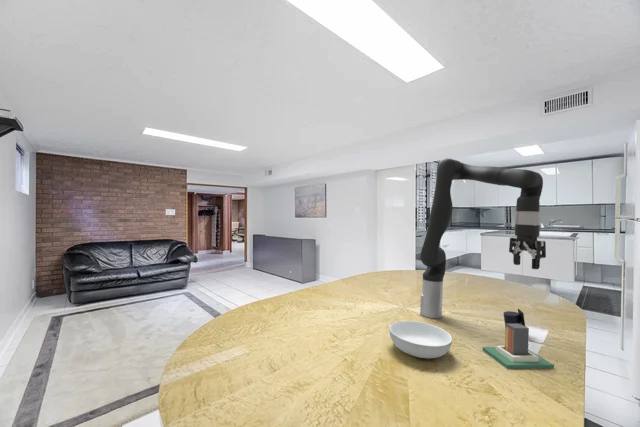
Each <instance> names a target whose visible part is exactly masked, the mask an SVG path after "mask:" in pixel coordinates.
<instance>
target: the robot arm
mask: <svg viewBox="0 0 640 427" xmlns="http://www.w3.org/2000/svg"><path fill="white" fill-rule="evenodd" d="M454 180H455V181H459V180H460V181H461V180H466V181H467V180H468V181H477V182H480V183H485V184H489V185H496V186H508V187H512V188H516V189H521V190H520V195H519V196H518V197H517V199H516V202H515V203H516V208H515V209H516V210H515V215H514V216H515V218H514V235H515V237H510V238H509V248H508V251H509V253H511V254H512V255H513V260H512V262H513V265H514V266H516V265H517V266H520V265H521V254H522V253H523V252H524V251H525V252H528V254H530V256H531V257H532V258H531V269H532V270H539V269H540V266H541V265H540V264H541V263H540V262H541V259H544V258H546V257H547V249H546V246H547V245H546V241H545V240H538V237H540V231H541V229H540V228H541V225H540V224H541V217H540V215H541V214H540V205H541V204H540V203H541V202H540V200H541V196H542V192H543V186H544V178H543V176H542V175H541V174H540V173H539V172H536V171H534V170H529V169H521V168H519V169H518V168H507V167H500V166H477V165H471V164H466V163H463V162H461V161H459V160H456V159H453V158H448V157H446V158H444V159H442V160H441V161H440V162H439V164H438V166H437V168H436V179H435V187H434V194H433V200H432V204H431V210H430V214H429V219H428V224H427V229H426V235H425V237H424V241H423V245H422V248H421V251H420V261H421V263H422V264H423V265H424V266H426V269H425V271H424V272H422V286H421V287H422V288H421V294H420V306H419V307H420V309H419V310H420V311H419V315H422V316H423V317H425V318H430V319H441V318H442V316H443V294H444V293H443V290H444V289H443V288H444V276H445V274H446V265H447V256H446V252H445V250H444V249H443V248H442V247H440V243H441V240H442V238H443V236H444V234H445V232H446V230H447V229H448V227H449V225H450V223H451V219H452V215H453V209H454V208H453V200H452V195H451V188H452V184H453V181H454Z"/></svg>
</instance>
